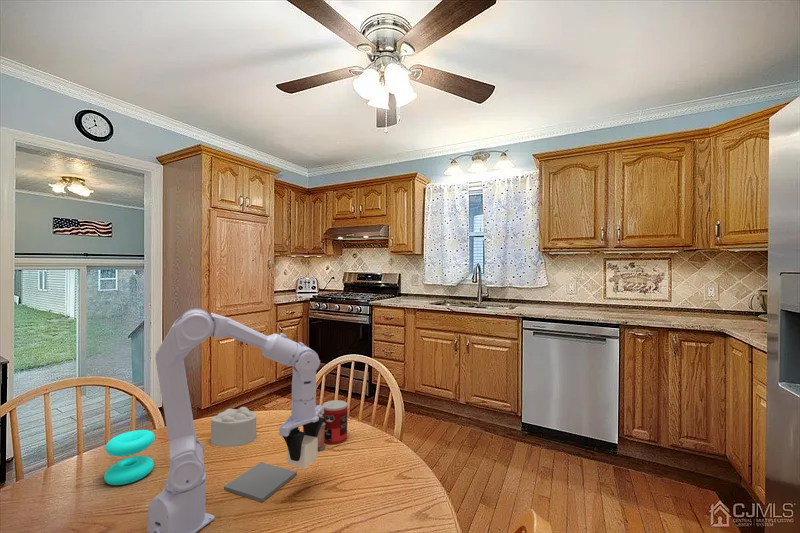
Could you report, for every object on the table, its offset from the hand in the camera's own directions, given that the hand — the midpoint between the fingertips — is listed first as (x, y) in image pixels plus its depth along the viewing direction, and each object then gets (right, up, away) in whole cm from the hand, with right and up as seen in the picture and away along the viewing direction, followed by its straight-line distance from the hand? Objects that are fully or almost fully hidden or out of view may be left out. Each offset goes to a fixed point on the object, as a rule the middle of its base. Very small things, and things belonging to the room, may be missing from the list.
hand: (302, 454), depth 83 cm
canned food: (+3, -10, +27) cm, 28 cm away
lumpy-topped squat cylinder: (-29, -10, +26) cm, 40 cm away
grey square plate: (-11, -9, +3) cm, 14 cm away
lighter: (-3, -10, +21) cm, 23 cm away
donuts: (-46, -9, +5) cm, 47 cm away
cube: (0, -2, 0) cm, 2 cm away
